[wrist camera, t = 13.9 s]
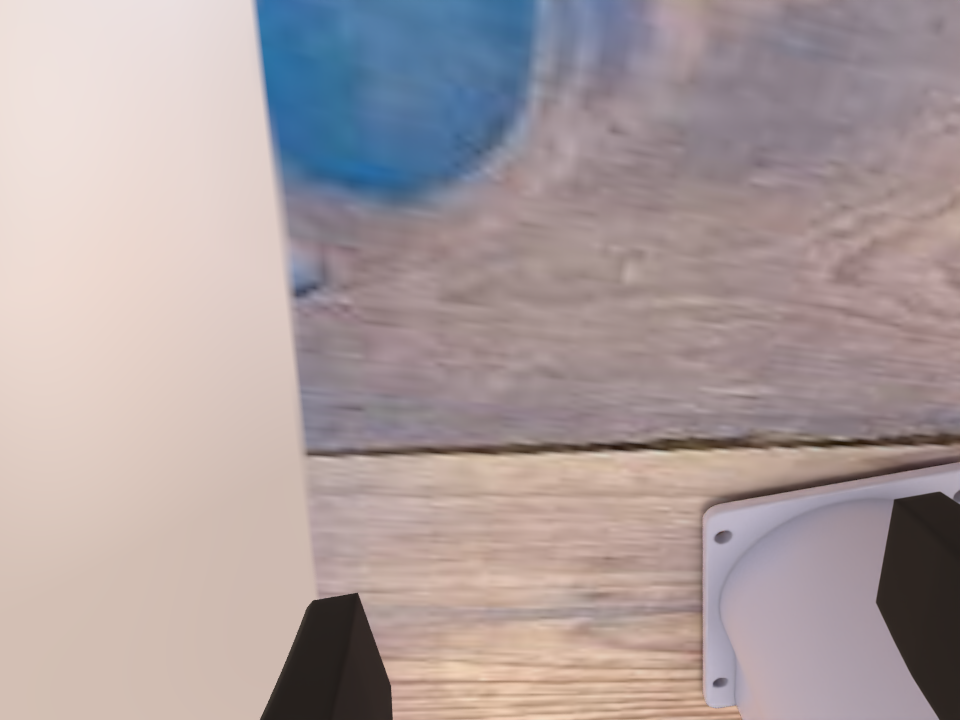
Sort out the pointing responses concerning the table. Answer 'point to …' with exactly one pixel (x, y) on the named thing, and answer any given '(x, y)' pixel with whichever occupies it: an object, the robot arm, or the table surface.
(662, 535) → the table surface
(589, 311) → the table surface
